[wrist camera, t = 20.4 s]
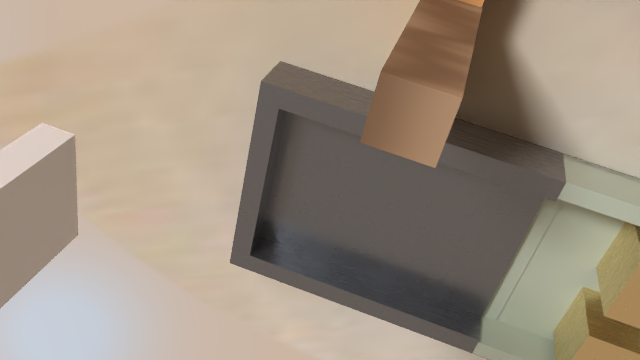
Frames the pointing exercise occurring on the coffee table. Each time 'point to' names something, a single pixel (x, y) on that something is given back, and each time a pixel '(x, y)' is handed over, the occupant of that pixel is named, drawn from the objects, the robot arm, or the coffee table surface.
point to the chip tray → (557, 261)
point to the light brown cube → (621, 277)
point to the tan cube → (594, 333)
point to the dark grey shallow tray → (384, 209)
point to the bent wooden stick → (424, 81)
